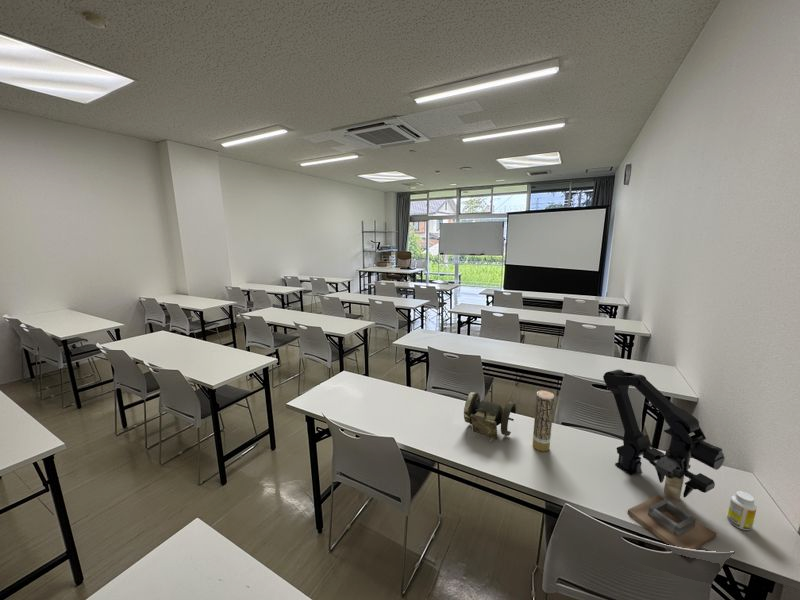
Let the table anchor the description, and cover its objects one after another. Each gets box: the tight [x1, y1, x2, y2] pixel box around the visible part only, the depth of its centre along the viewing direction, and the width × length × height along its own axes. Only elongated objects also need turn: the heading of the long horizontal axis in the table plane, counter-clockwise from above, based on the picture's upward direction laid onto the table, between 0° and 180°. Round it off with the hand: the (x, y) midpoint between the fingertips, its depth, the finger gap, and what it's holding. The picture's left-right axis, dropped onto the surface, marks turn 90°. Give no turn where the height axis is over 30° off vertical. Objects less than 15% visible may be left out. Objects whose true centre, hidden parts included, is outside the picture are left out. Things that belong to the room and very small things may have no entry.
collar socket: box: [627, 494, 718, 550], centre depth 101 cm, size 16×16×4 cm
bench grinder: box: [463, 391, 517, 443], centre depth 149 cm, size 20×22×20 cm
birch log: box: [532, 390, 555, 452], centre depth 137 cm, size 7×7×25 cm
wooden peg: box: [663, 476, 685, 502], centre depth 112 cm, size 4×4×9 cm
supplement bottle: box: [726, 490, 757, 531], centre depth 101 cm, size 6×6×10 cm
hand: (672, 489), depth 113 cm, fingers open, 7 cm apart
